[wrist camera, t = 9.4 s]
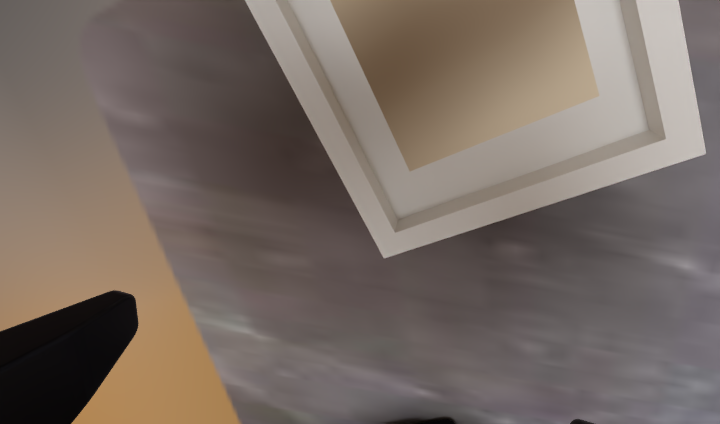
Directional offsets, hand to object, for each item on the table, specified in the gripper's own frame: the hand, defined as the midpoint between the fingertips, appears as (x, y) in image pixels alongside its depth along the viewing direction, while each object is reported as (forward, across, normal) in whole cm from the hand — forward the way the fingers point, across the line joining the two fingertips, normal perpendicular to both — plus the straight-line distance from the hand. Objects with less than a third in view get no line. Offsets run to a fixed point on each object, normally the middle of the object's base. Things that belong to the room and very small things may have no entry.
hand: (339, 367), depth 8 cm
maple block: (+10, -1, -6) cm, 12 cm away
